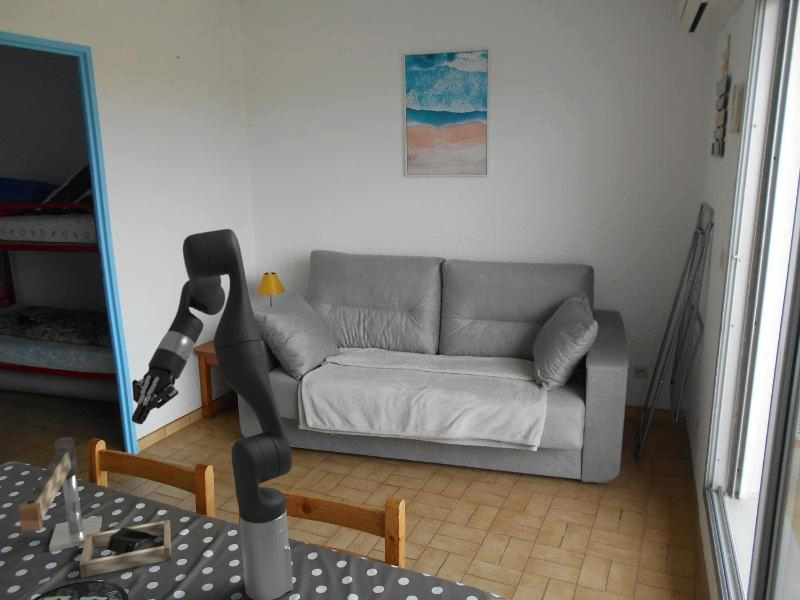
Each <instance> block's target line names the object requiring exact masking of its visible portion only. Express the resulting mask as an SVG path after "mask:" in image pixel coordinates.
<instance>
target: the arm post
mask: <svg viewBox="0 0 800 600" xmlns="http://www.w3.org/2000/svg"><path fill="white" fill-rule="evenodd" d="M61 486H62V490H63V498H64V504H65V511H66V512H65V513H66V518H67V522H66V521H65V522H60V523H55V528H54V530H53V533H52V536H51V540H50V543H49V547H48V548H49V552H55V551H59V550H60V551H61V550H66V549H71V548H76V547H75V546H77V547H80V546H79V545H82V546H84V543H85V539H86V535H89V534H94V533H100V532H101V529H100V528H102V524H101V523H103V519H102V515H100V516H94V517H93V516H92V517H88V518H83V517H82V509H81V503H80V496H79V495H80V493H79V487H78V480H77V473H76V474H75V475H73V476H70V477H66V478H65V480H64V482H63V483H62V485H61Z"/></svg>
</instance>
